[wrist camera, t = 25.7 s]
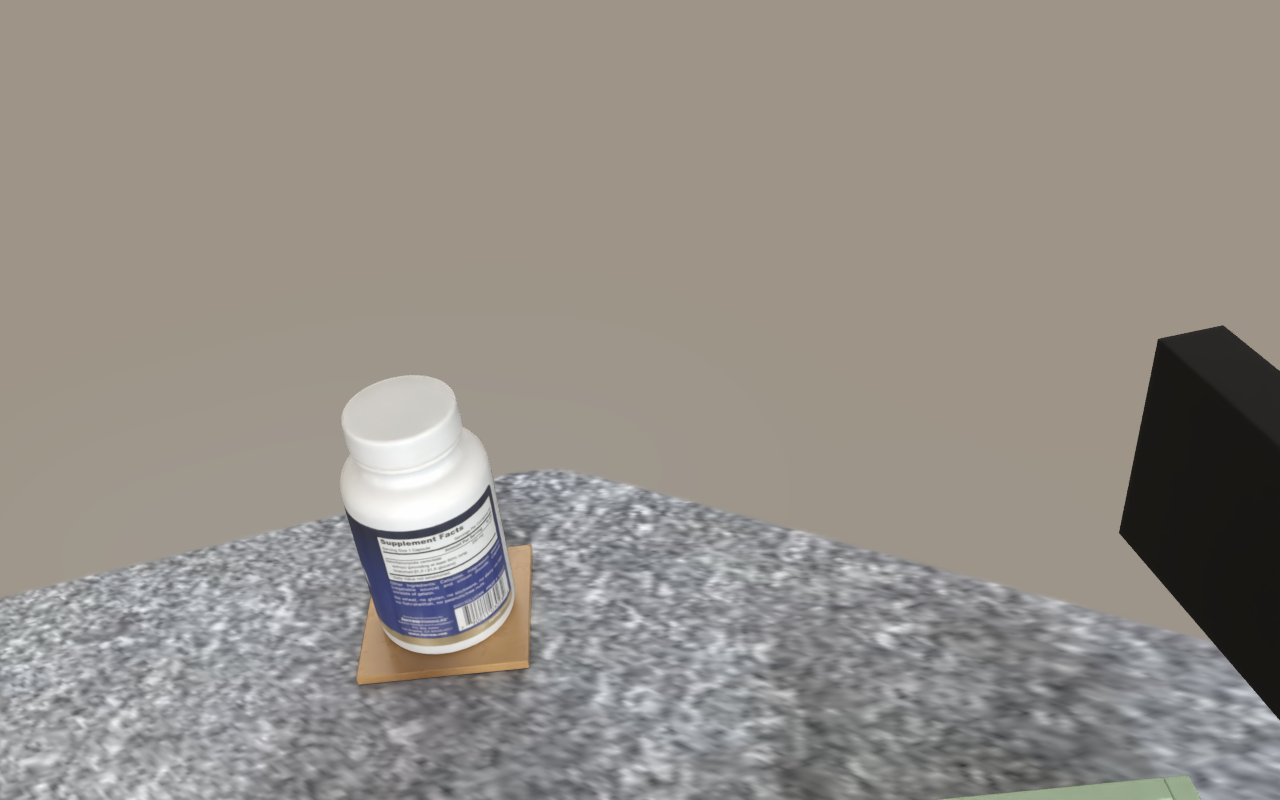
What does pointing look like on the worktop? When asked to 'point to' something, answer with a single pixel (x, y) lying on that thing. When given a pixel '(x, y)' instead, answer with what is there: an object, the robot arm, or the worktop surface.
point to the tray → (1107, 791)
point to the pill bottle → (424, 516)
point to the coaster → (491, 654)
